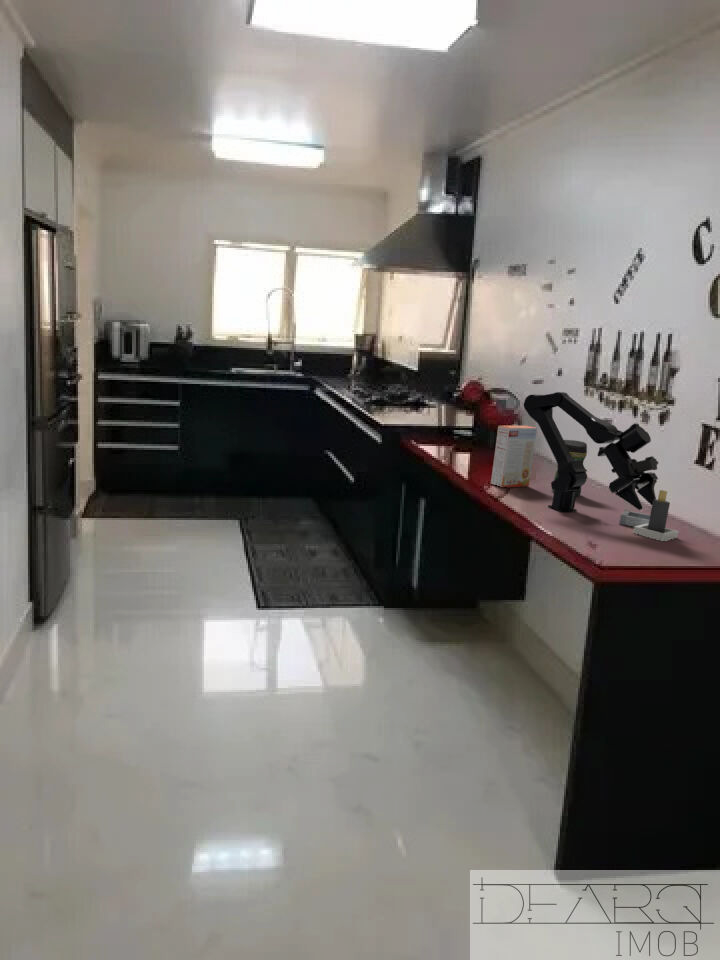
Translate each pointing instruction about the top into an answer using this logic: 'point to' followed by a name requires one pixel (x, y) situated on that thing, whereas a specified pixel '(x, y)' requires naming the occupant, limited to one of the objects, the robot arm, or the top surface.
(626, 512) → the grey tray
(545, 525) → the top surface
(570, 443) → the coffee jar
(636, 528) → the socket
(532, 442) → the cracker box
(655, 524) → the plug
